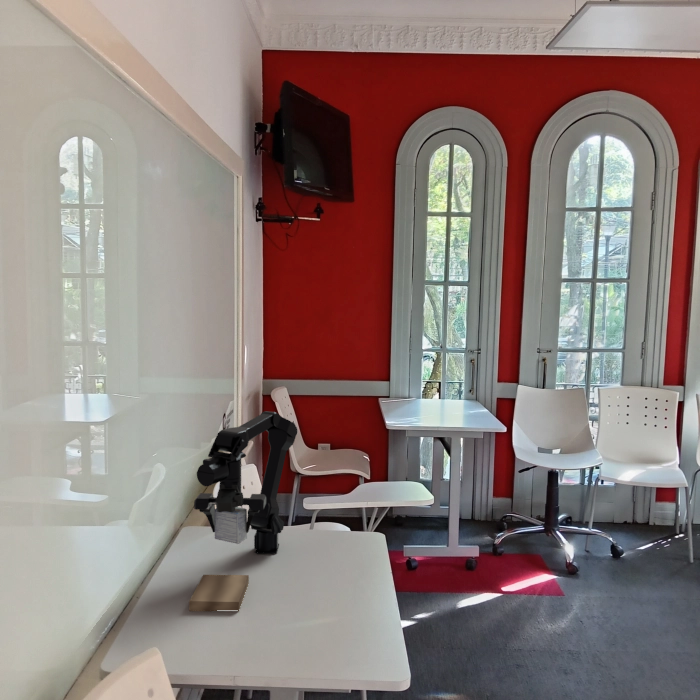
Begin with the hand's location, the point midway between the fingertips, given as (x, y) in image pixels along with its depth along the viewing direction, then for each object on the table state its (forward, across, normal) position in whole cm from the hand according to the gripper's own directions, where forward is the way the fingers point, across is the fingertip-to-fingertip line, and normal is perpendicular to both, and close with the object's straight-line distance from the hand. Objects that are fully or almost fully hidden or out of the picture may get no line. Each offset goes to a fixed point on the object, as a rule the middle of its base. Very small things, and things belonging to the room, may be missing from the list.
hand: (230, 532), depth 165 cm
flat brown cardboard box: (+12, 0, -14) cm, 18 cm away
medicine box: (+2, 0, 0) cm, 2 cm away
